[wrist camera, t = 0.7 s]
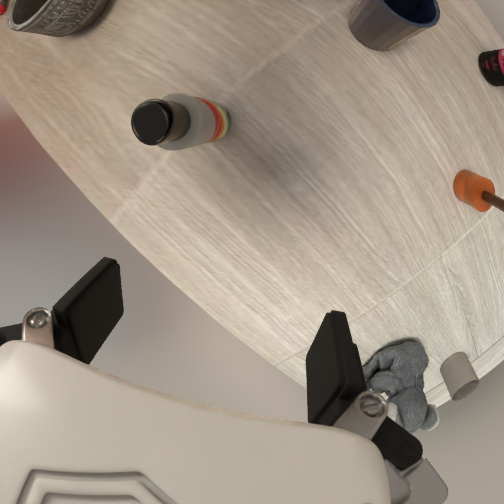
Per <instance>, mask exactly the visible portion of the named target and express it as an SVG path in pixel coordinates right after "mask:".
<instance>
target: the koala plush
mask: <svg viewBox="0 0 504 504" xmlns="http://www.w3.org/2000/svg"><path fill="white" fill-rule="evenodd" d="M428 361H429V359H428V356H427V354H426V353H425V350H424V347H423V346H422V345H421V343H418V342H411V341H407V342H404V343H403V344H400V345H395V346H390V347H387V348H385V349H383V350H382V351H380V352H378V353H377V354H375V355H374V356H373V359H372V360H371V361H370V362H369V364H367V365H365V366H363V367H362V369H363V373H364V378H365V382H366V387H367V391H370V388H371V389H372V390H373V391H374V392H377V393H383V392H385V393H386V395H387V396H388V397H389V398H388V399H387V404H388V414H387V416H388V417H390V418H391V419H392V420H394V421H395V422H396V423H397V424H399V425H400V426H401V427H403V428H404V429H405V430H406V431H408V432H409V433H410V434H411V433H413V432H415V431H417V430H418V429H419V428H421V429H423V430H432V429H433V428H435V427H436V425H437V424H438V422H439V418H438V417H439V415H438V409H437V408H436V407H435V405H432V404H427V400H426V396H425V394H424V392H423V388H424V381H423V372H424V371H425V370H426V368H427V366H428Z"/></svg>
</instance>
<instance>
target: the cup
mask: <svg viewBox="0 0 504 504" xmlns="http://www.w3.org/2000/svg"><path fill="white" fill-rule="evenodd" d="M440 372H441V374H442V377H443V379H444V381H445V384H446V386H447V388H448V391H449V393H450V396H451V398H452V400H453V401H457V400H461V399H463V398H465V397H467V396H468V395H469V394H471V393H472V392H473V391H474V390H475V389H476V388H477V386H478V384H479V379H478V377H477V375H476V373H475V371H474V369H473V367H472V365H471V364H470V362H469V360H468V358H467V356H466V354H465V353H463V352H458V353H456V354H454V355H451V356H450V357H449V358H448V359H446V360H445V362H444V363H443V364H442V365H441V368H440Z"/></svg>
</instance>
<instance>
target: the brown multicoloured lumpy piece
mask: <svg viewBox="0 0 504 504" xmlns="http://www.w3.org/2000/svg"><path fill="white" fill-rule="evenodd" d="M4 12H5V8H4V6H3V5H2V4H0V15H2V14H3V13H4Z"/></svg>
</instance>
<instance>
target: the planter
mask: <svg viewBox="0 0 504 504" xmlns="http://www.w3.org/2000/svg"><path fill="white" fill-rule="evenodd" d="M107 3H108V0H14V1H13V3H12V6H11V9H10V13H9V19H8V23H9V27H10V28H11V29H12V30H14V31H23V32H29V33H37V34H43V35H48V36H54V37H63V36H67V35H70V34H72V33H75V32H77V31H79V30H81V29H83V28H85V27H87V26H89V25H90V24H92V23H93V22H94V21H95V20H96V19H97V18H98V17H99V16H100V15H101V14H102V12H103V11H104V9H105V7H106V5H107Z"/></svg>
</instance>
